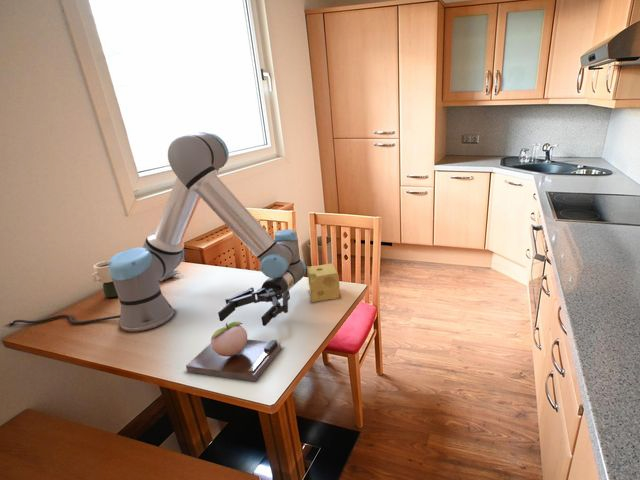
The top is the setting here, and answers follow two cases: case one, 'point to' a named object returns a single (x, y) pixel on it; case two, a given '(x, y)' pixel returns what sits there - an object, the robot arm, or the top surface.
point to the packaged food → (170, 274)
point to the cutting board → (236, 361)
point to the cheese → (323, 282)
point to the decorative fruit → (229, 339)
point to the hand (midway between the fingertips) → (241, 319)
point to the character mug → (104, 278)
